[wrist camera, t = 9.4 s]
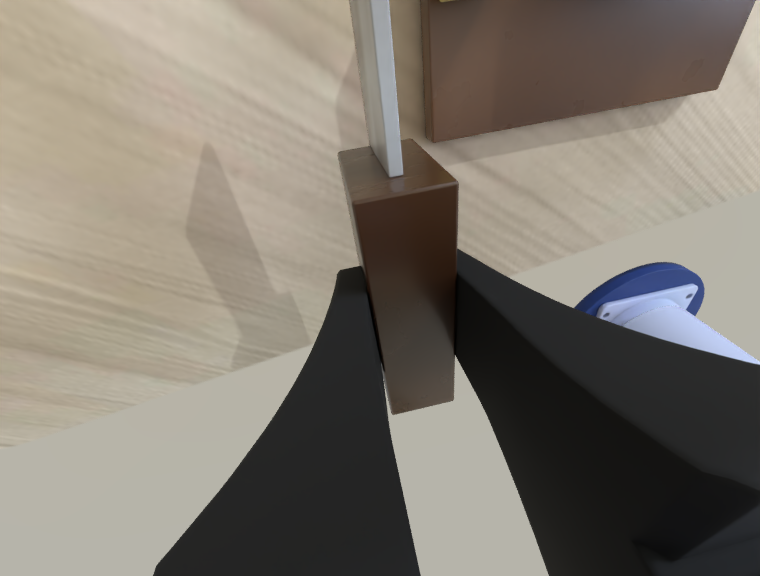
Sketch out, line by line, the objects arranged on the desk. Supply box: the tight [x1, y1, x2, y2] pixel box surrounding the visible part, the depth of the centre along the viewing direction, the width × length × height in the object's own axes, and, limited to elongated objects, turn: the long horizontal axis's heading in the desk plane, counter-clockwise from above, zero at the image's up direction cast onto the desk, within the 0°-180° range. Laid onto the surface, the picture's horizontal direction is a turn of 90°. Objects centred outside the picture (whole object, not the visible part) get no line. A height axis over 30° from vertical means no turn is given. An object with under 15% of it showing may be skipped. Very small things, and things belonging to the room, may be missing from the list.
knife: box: [338, 0, 459, 415], centre depth 7 cm, size 15×2×3 cm, turn 9°
